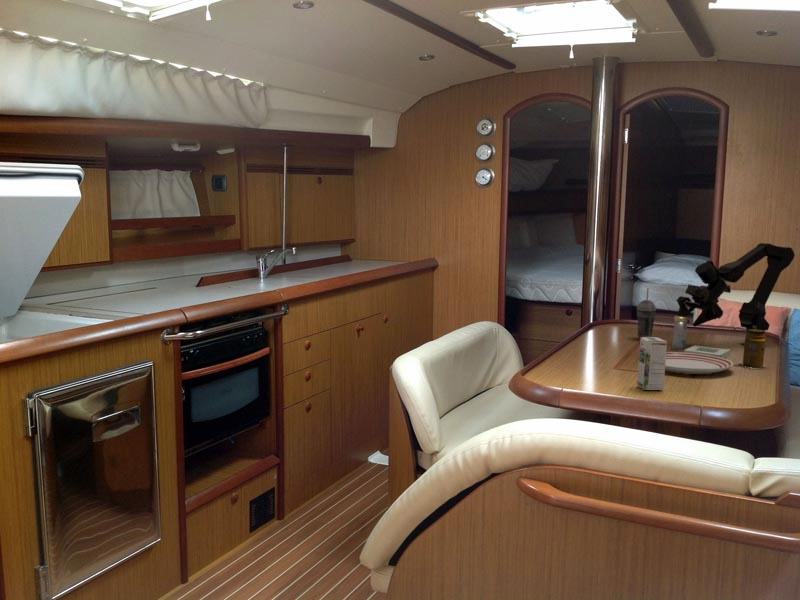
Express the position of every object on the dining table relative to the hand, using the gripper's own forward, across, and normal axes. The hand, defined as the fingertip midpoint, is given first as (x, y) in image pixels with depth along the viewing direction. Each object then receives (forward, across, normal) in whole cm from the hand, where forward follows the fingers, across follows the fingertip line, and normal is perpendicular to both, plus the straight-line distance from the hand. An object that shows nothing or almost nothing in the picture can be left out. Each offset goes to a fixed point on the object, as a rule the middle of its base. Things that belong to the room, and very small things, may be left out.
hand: (684, 323), depth 266 cm
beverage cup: (+9, -18, +5) cm, 21 cm away
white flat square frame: (+6, +12, +7) cm, 15 cm away
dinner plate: (+21, +26, -7) cm, 34 cm away
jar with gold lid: (+8, 0, +6) cm, 10 cm away
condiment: (+5, +29, +9) cm, 31 cm away
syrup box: (+41, +44, -27) cm, 66 cm away
